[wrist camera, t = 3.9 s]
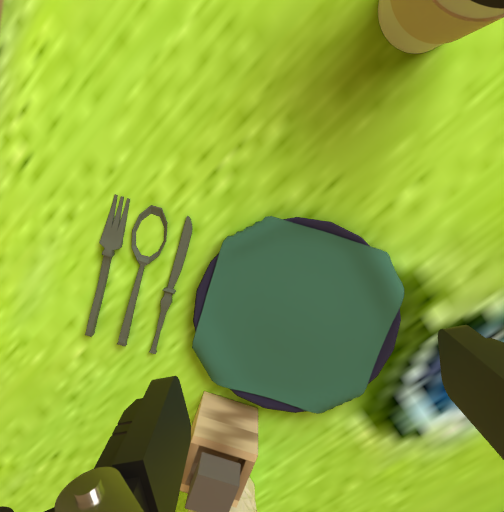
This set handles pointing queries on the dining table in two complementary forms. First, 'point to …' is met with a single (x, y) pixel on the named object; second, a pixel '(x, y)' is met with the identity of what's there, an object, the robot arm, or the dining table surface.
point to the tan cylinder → (245, 499)
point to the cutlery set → (279, 309)
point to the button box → (223, 437)
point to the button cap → (213, 484)
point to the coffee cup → (434, 21)
